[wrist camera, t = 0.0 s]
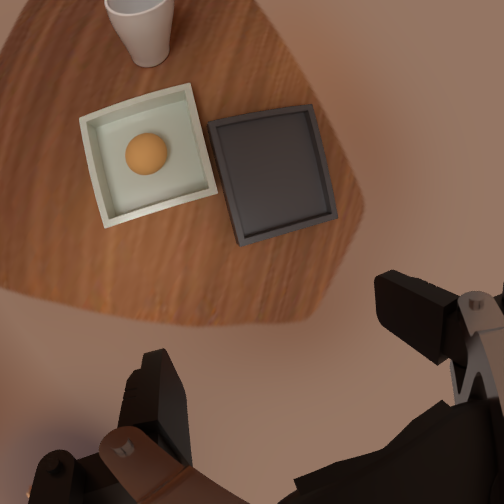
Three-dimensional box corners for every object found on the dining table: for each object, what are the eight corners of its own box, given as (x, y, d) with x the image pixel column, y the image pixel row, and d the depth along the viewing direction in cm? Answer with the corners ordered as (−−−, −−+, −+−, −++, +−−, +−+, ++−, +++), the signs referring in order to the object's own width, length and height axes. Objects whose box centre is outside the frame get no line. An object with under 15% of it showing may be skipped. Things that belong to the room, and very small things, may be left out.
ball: (125, 143, 32) (116, 137, 27) (163, 132, 33) (160, 123, 28) (134, 181, 33) (126, 180, 29) (172, 169, 34) (170, 166, 30)
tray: (206, 126, 35) (207, 121, 33) (304, 108, 37) (312, 104, 35) (236, 243, 39) (240, 246, 37) (329, 216, 41) (338, 218, 39)
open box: (91, 126, 31) (79, 118, 27) (189, 95, 34) (190, 82, 29) (114, 223, 35) (104, 228, 30) (213, 192, 37) (218, 193, 32)
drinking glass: (185, 51, 32) (189, -12, 18) (147, 82, 32) (130, 27, 18) (154, 26, 30) (146, -39, 15) (117, 56, 30) (90, -2, 15)
